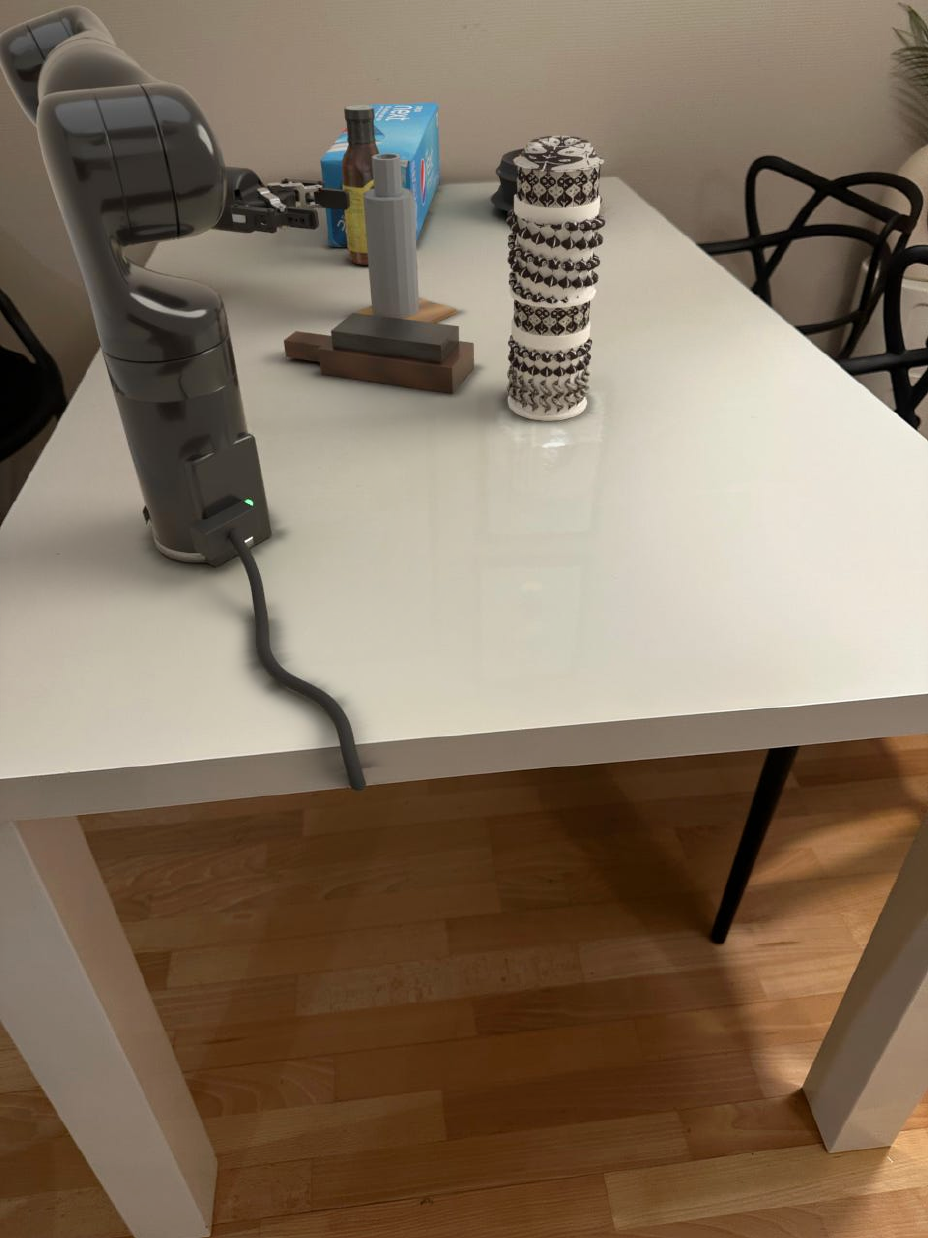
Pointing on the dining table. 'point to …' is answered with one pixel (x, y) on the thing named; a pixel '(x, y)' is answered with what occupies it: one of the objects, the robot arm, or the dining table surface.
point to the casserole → (508, 181)
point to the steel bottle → (391, 241)
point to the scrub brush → (388, 352)
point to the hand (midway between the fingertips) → (333, 209)
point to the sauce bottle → (358, 176)
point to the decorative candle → (553, 276)
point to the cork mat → (424, 312)
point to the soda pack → (396, 133)
